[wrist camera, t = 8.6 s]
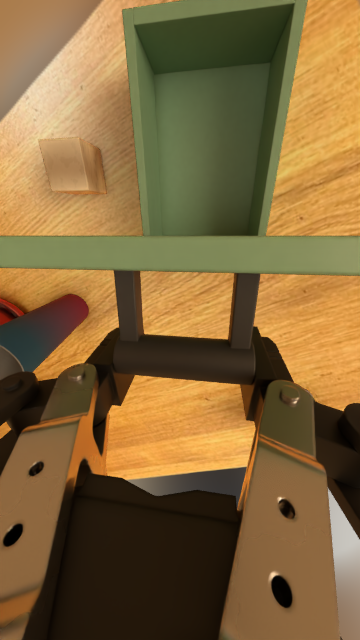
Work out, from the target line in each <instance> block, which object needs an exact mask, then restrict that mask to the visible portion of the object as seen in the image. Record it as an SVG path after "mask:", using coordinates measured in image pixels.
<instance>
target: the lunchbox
mask: <svg viewBox="0 0 360 640" xmlns="http://www.w3.org/2000/svg"><path fill="white" fill-rule="evenodd" d="M307 1H308V0H181V1H175V2H168V3H161V4H154V5H148V6H141V7H134V8H133V9H132V8H129V9H123V10H122V14H123V25H124V35H125V46H126V57H127V68H128V78H129V89H130V100H131V110H132V121H133V132H134V143H135V153H136V164H137V175H138V185H139V196H140V207H141V218H142V228H143V236H266V232H267V226H268V220H269V215H270V209H271V203H272V198H273V192H274V187H275V181H276V175H277V170H278V164H279V158H280V153H281V147H282V141H283V136H284V130H285V125H286V119H287V113H288V108H289V102H290V96H291V91H292V85H293V80H294V74H295V68H296V63H297V57H298V51H299V46H300V40H301V34H302V29H303V23H304V18H305V12H306V6H307Z"/></svg>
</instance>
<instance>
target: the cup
mask: <svg viewBox="0 0 360 640" xmlns="http://www.w3.org/2000/svg"><path fill="white" fill-rule="evenodd" d="M88 313H89V309H88V306H87V304H86V302H85V301H84V300H83V299H82V298H80V297H79V296H77V295H74V294H68V295H65V296H63V297H61V298H59V299H57V300H54V301H52V302H50V303H48V304H46V305H44V306H41V307H39V308H37V309H35V310H33V311H31V312H28V313H26V314H24V315H22V316H20V317H18V318H15V319H13V320H11V321H9V322H7V323H5V324H3V325H0V380H2V379H3V378H5V377H7V376H9V375H12V374H14V373H18V372H23V371H29V372H33V371H34V370H35V369H36V368H37V367H38V366H39V365H40V364H41V363H42V362H43V361H44V360H45V359H46V358H47V357H48V356H49V355H50V354H51V353H52V352H53V351H54V350H55V349H56V348H57V347H58V346H59V345H60V344H61V343H62V342H63V341H64V340H65V339H66V338H67V337H68V336H69V335H70V334H71V332H72V331H73V330H74V329H75V328H76V327H77V326H78V325H79V324H80V323H81V322H82V321H83V320H84V319H85V318H86V317H87V316H88Z"/></svg>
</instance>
